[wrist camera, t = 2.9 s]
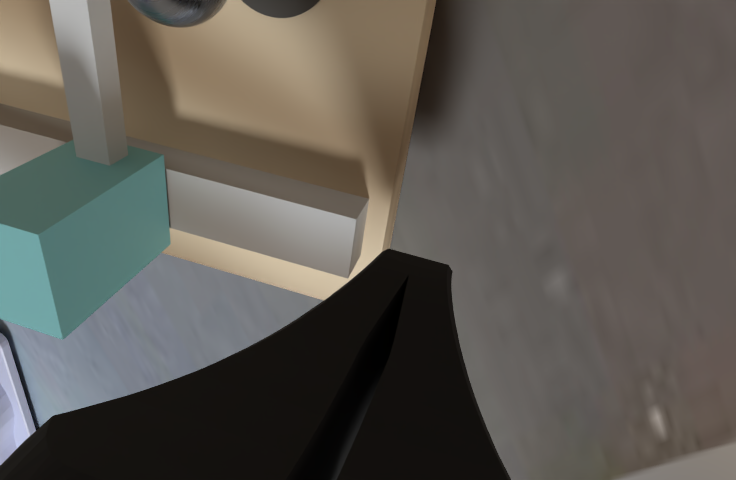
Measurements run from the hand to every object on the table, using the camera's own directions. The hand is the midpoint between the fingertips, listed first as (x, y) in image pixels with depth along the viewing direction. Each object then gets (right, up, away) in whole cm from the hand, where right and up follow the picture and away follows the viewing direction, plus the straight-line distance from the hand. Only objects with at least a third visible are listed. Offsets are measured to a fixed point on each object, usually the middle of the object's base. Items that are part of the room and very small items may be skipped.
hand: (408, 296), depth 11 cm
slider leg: (-6, +5, +1) cm, 8 cm away
